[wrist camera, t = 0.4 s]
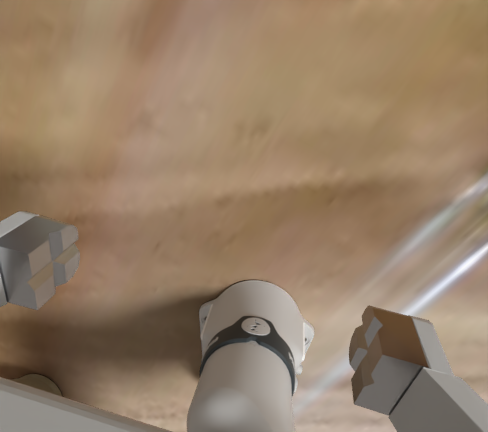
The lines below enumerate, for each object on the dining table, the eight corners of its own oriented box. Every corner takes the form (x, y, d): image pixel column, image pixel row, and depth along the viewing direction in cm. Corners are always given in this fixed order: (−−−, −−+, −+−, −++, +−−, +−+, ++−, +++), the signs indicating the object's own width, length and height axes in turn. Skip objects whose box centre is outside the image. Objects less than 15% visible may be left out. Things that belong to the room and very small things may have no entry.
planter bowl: (-15, 383, 65) (-73, 430, 55) (38, 343, 61) (-13, 386, 51) (41, 441, 67) (-4, 498, 56) (96, 406, 63) (58, 460, 53)
